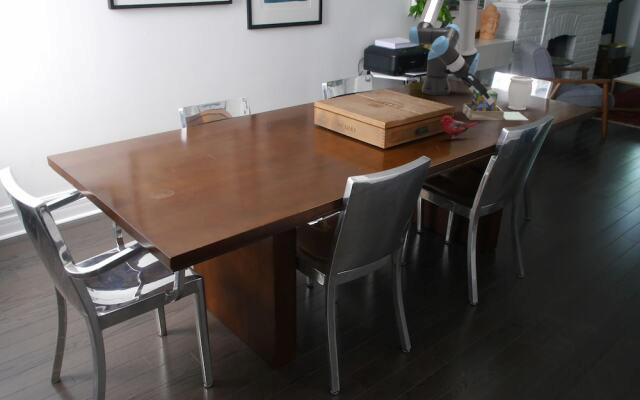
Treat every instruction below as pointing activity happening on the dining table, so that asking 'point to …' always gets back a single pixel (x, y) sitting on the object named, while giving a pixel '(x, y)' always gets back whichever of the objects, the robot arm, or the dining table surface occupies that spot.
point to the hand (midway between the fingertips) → (485, 99)
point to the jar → (519, 92)
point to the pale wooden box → (482, 113)
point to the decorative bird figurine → (454, 126)
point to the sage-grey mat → (514, 116)
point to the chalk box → (483, 101)
